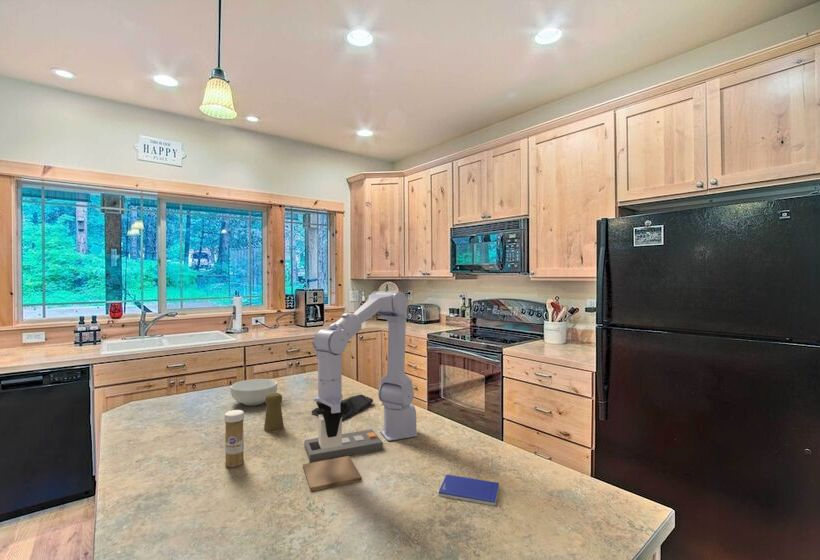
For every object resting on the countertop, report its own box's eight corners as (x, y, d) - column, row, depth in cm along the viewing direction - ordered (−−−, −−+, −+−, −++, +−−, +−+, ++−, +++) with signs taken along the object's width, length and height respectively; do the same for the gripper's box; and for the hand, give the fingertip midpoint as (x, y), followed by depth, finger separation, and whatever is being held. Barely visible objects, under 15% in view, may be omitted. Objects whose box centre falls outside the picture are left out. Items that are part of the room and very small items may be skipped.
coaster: (349, 458, 106) (349, 455, 106) (361, 480, 95) (361, 477, 95) (303, 467, 102) (302, 464, 102) (310, 491, 91) (310, 487, 91)
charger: (338, 439, 102) (338, 408, 102) (341, 445, 98) (341, 413, 98) (318, 442, 100) (318, 410, 100) (321, 449, 96) (321, 416, 96)
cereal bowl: (268, 409, 145) (267, 390, 144) (222, 409, 145) (222, 390, 145) (283, 395, 162) (283, 378, 161) (242, 395, 162) (242, 378, 162)
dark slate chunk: (380, 406, 149) (380, 393, 149) (337, 424, 131) (337, 410, 131) (349, 399, 158) (349, 387, 158) (306, 415, 140) (306, 401, 140)
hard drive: (438, 491, 89) (495, 500, 85) (446, 473, 96) (498, 481, 93) (438, 498, 89) (495, 508, 85) (446, 479, 96) (499, 488, 93)
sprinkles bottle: (225, 469, 101) (224, 416, 101) (225, 461, 105) (224, 410, 105) (244, 465, 103) (244, 413, 102) (244, 458, 107) (243, 408, 107)
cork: (277, 432, 124) (277, 397, 124) (260, 431, 125) (259, 396, 125) (287, 425, 130) (287, 391, 130) (270, 424, 131) (270, 390, 131)
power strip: (372, 435, 121) (372, 427, 121) (382, 449, 112) (382, 440, 112) (304, 447, 113) (304, 438, 113) (309, 462, 104) (309, 452, 104)
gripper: (308, 372, 104) (309, 424, 104) (318, 387, 90) (318, 447, 91) (336, 370, 107) (336, 421, 107) (349, 384, 93) (349, 442, 93)
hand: (330, 432), depth 99 cm, fingers closed on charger, 4 cm apart
